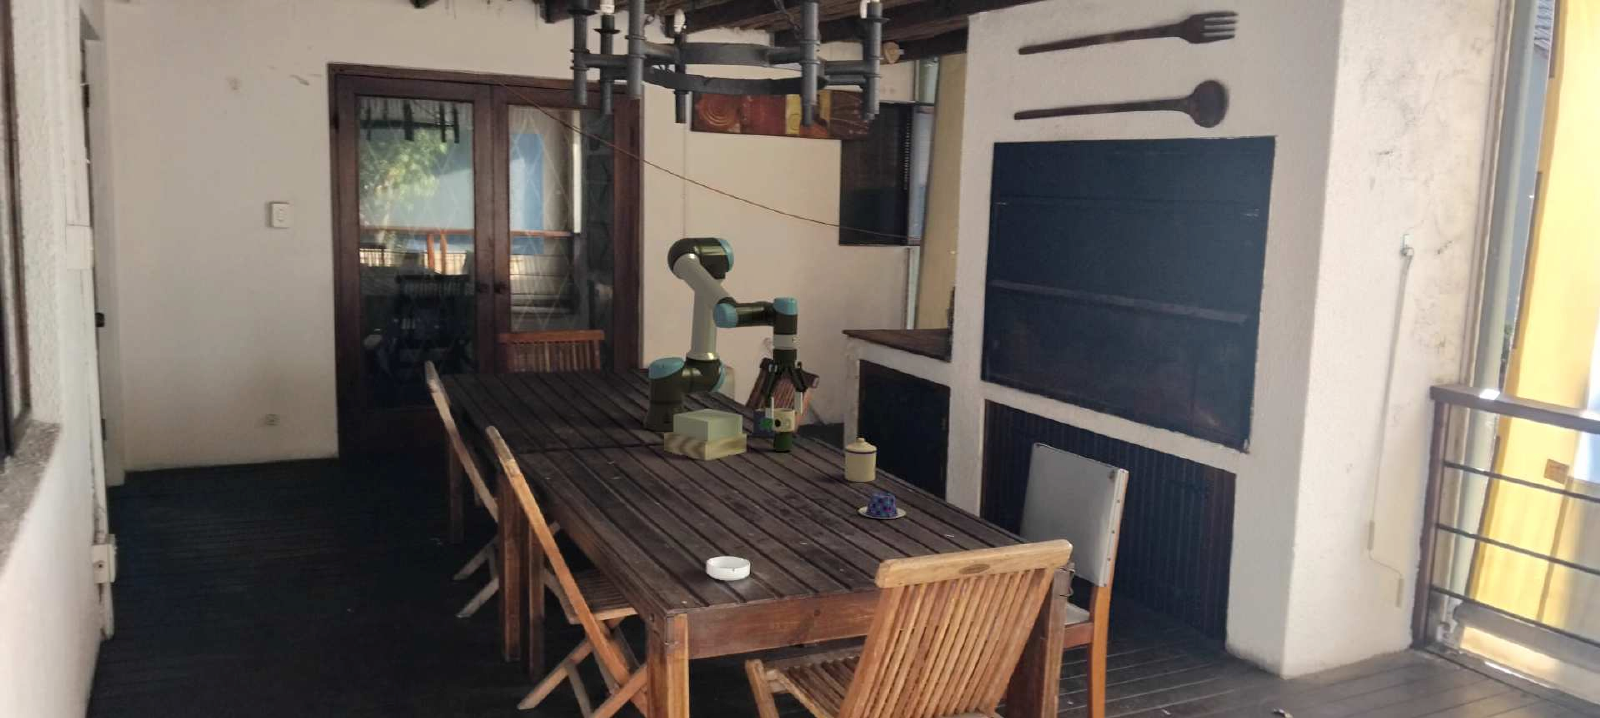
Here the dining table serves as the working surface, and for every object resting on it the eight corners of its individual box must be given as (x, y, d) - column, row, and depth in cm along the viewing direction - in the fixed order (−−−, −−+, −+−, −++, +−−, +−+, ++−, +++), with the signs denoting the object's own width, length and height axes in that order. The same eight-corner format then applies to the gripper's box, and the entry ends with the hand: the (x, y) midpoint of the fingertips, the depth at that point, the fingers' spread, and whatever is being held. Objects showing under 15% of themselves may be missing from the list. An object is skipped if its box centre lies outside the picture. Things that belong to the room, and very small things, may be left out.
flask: (781, 436, 394) (782, 404, 393) (780, 438, 391) (781, 406, 390) (753, 435, 394) (754, 403, 393) (752, 437, 392) (753, 405, 390)
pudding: (869, 522, 295) (869, 502, 294) (851, 510, 306) (852, 490, 305) (913, 519, 298) (914, 499, 298) (894, 507, 310) (894, 487, 309)
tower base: (664, 452, 368) (664, 433, 367) (705, 444, 381) (705, 425, 381) (705, 462, 356) (705, 442, 355) (746, 453, 370) (746, 434, 369)
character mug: (764, 448, 375) (765, 407, 374) (785, 446, 379) (786, 406, 377) (780, 455, 366) (781, 413, 364) (800, 453, 369) (801, 412, 367)
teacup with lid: (881, 480, 337) (883, 440, 335) (854, 483, 332) (855, 443, 331) (860, 471, 347) (861, 432, 345) (833, 474, 343) (834, 434, 341)
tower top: (673, 433, 367) (673, 414, 366) (707, 427, 378) (708, 408, 378) (707, 441, 358) (707, 421, 357) (742, 434, 369) (742, 415, 368)
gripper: (767, 352, 356) (766, 421, 359) (819, 345, 375) (818, 411, 377) (748, 349, 361) (748, 418, 363) (801, 343, 379) (800, 408, 382)
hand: (784, 415), depth 370 cm, fingers open, 13 cm apart
